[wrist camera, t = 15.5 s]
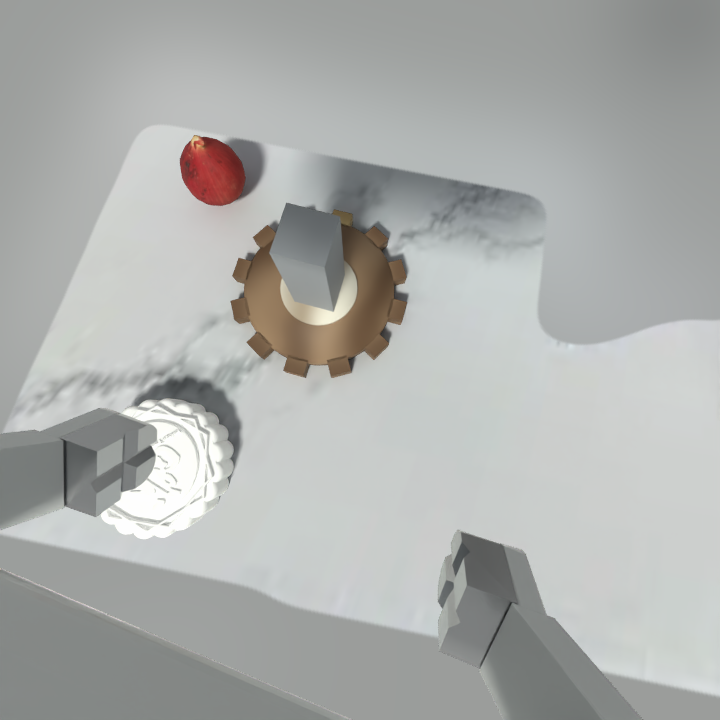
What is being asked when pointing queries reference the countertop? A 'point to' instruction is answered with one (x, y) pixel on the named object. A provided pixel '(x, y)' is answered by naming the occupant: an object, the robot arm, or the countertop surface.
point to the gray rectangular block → (310, 255)
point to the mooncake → (176, 470)
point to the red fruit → (212, 171)
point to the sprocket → (315, 325)
